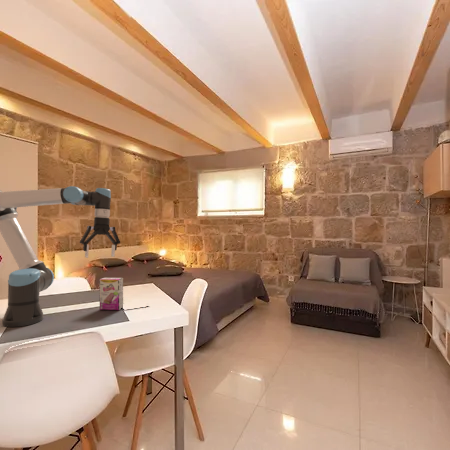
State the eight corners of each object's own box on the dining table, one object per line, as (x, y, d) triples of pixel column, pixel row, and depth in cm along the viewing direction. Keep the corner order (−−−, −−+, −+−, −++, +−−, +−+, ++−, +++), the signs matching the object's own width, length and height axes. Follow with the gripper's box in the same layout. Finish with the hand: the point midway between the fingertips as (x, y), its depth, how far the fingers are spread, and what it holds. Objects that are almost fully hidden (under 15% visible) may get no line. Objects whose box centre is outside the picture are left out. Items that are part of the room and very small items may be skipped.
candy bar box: (99, 310, 144) (98, 279, 144) (104, 307, 149) (103, 277, 149) (119, 310, 143) (118, 279, 143) (123, 307, 148) (123, 277, 148)
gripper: (78, 215, 135) (76, 258, 134) (127, 218, 152) (125, 256, 152) (74, 215, 140) (72, 257, 140) (121, 218, 158) (120, 255, 157)
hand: (100, 257), depth 146 cm, fingers open, 13 cm apart
